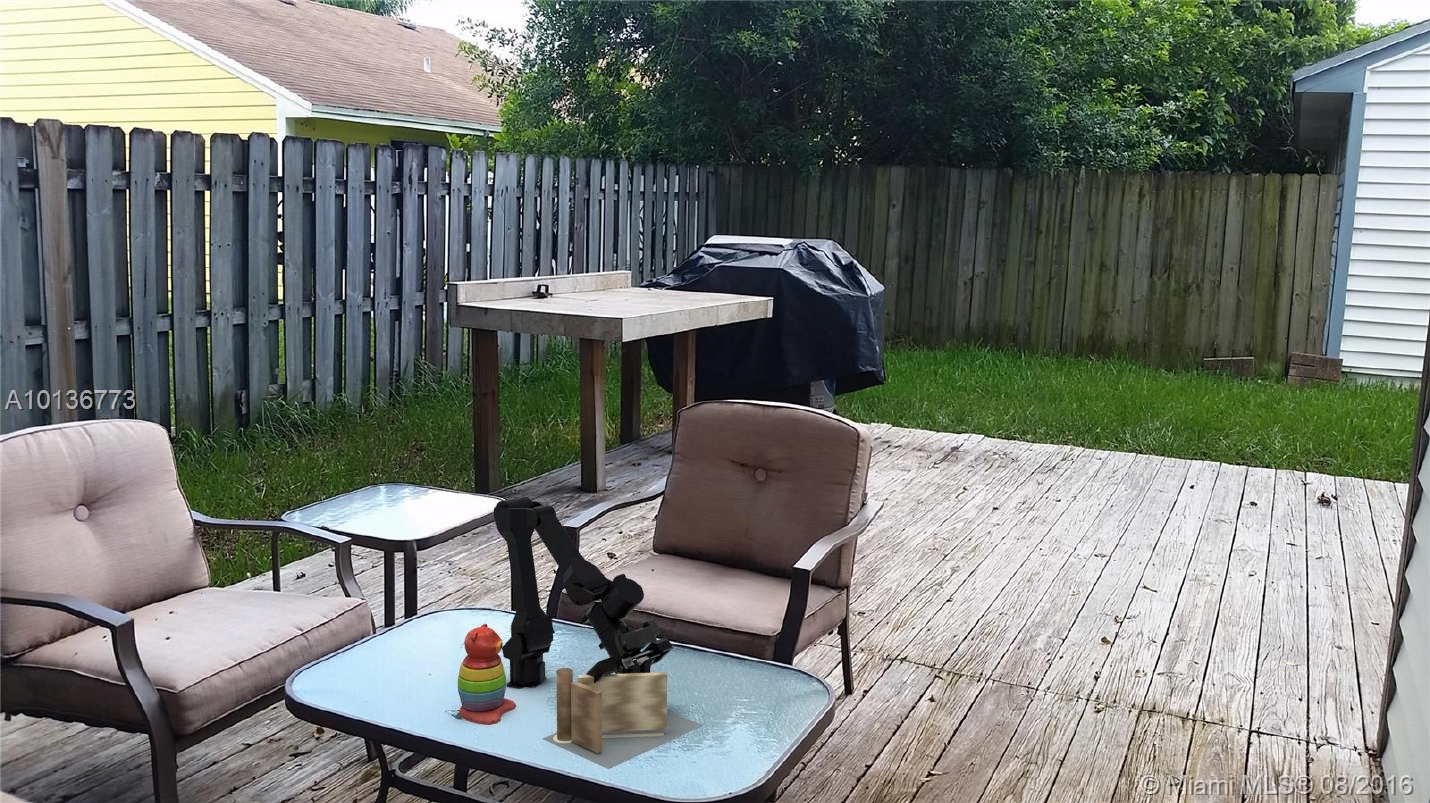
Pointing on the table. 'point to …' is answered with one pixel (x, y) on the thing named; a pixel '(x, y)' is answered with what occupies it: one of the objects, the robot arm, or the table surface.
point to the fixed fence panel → (578, 712)
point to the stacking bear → (483, 678)
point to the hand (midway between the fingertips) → (652, 700)
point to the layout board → (629, 742)
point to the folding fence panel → (631, 700)
